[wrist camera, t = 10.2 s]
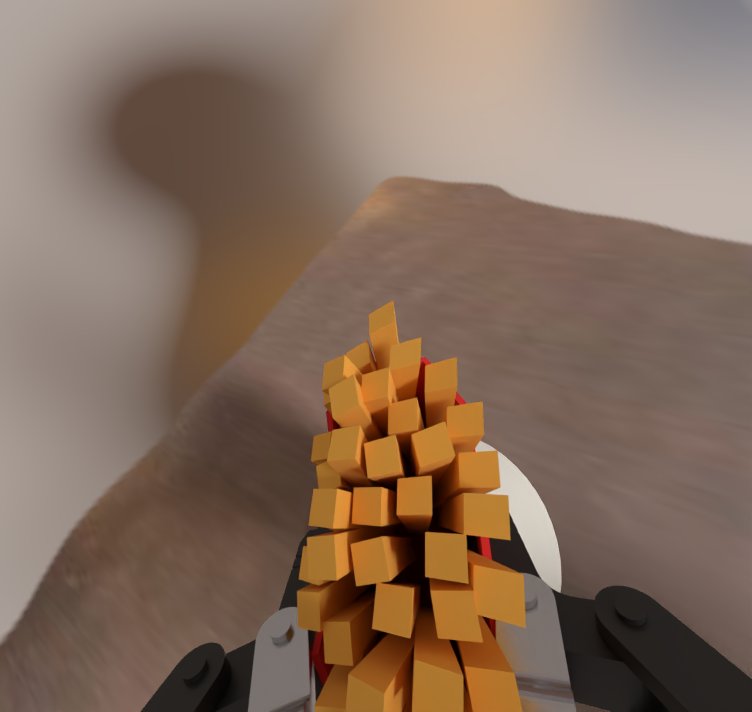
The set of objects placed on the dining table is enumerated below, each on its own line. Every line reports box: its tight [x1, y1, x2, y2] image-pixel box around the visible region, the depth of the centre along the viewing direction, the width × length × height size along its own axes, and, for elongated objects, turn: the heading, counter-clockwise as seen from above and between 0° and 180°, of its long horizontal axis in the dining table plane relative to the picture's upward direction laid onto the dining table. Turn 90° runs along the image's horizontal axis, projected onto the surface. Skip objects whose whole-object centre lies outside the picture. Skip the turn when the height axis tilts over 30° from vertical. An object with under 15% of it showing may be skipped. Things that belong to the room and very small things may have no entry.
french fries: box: [297, 301, 526, 712], centre depth 11 cm, size 9×4×13 cm, turn 1°
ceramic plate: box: [475, 441, 561, 593], centre depth 25 cm, size 16×16×2 cm
